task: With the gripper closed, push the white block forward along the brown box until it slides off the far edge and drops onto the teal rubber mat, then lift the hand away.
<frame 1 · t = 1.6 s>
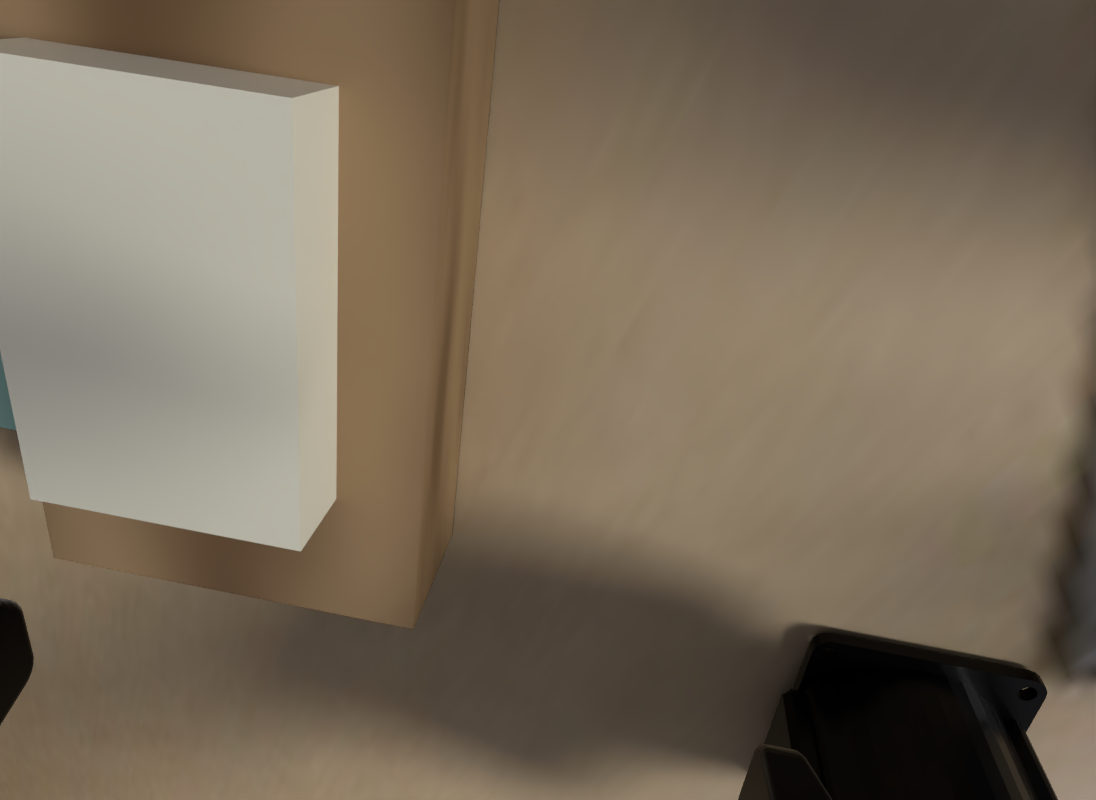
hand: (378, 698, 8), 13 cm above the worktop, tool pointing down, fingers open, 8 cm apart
white block: (197, 293, 17), point 4 cm above the worktop, touching brown box
brown box: (290, 243, 20), on the worktop
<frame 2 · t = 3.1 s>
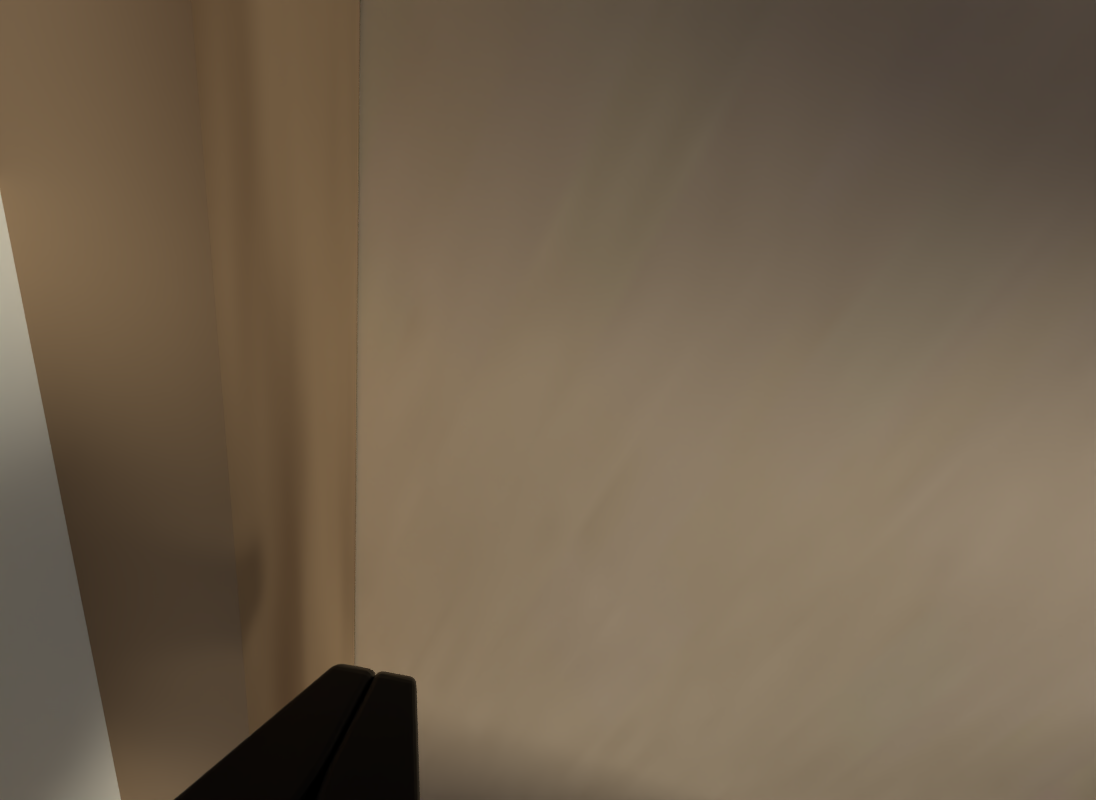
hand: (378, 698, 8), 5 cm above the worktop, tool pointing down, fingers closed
brown box: (73, 378, 13), on the worktop
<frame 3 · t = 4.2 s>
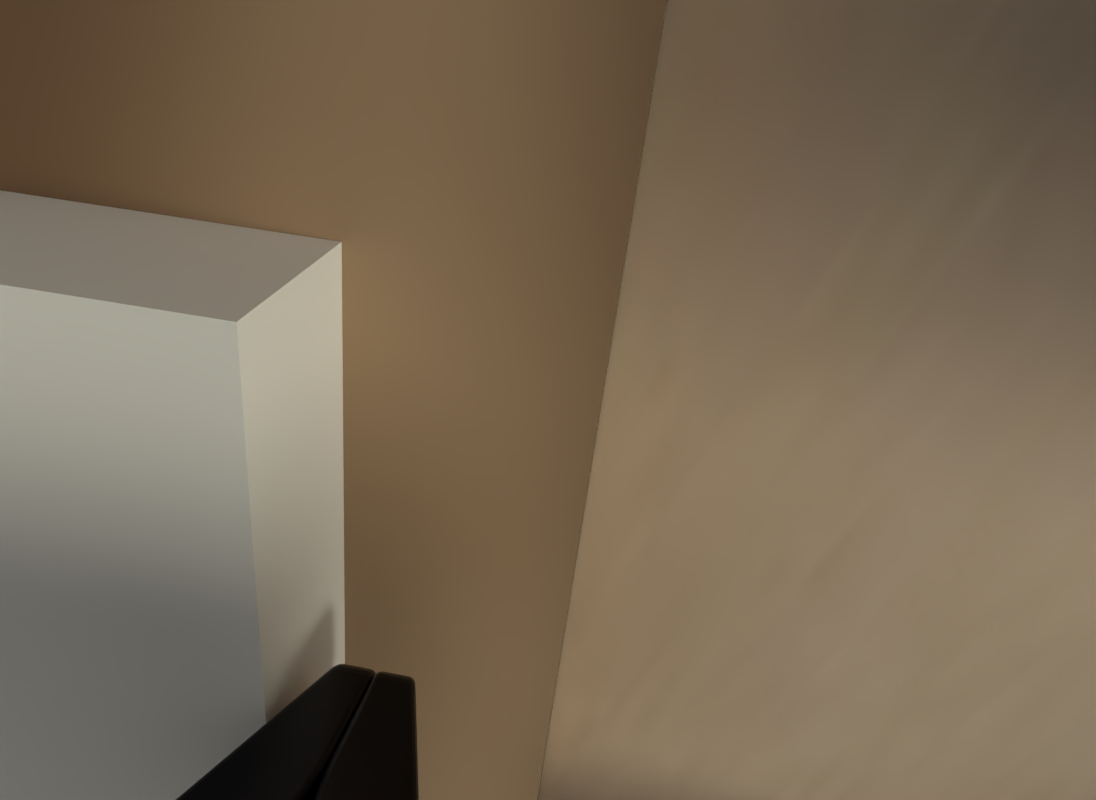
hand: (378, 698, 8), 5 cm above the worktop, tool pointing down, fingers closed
white block: (99, 573, 10), point 4 cm above the worktop, touching gripper
brown box: (299, 423, 13), on the worktop
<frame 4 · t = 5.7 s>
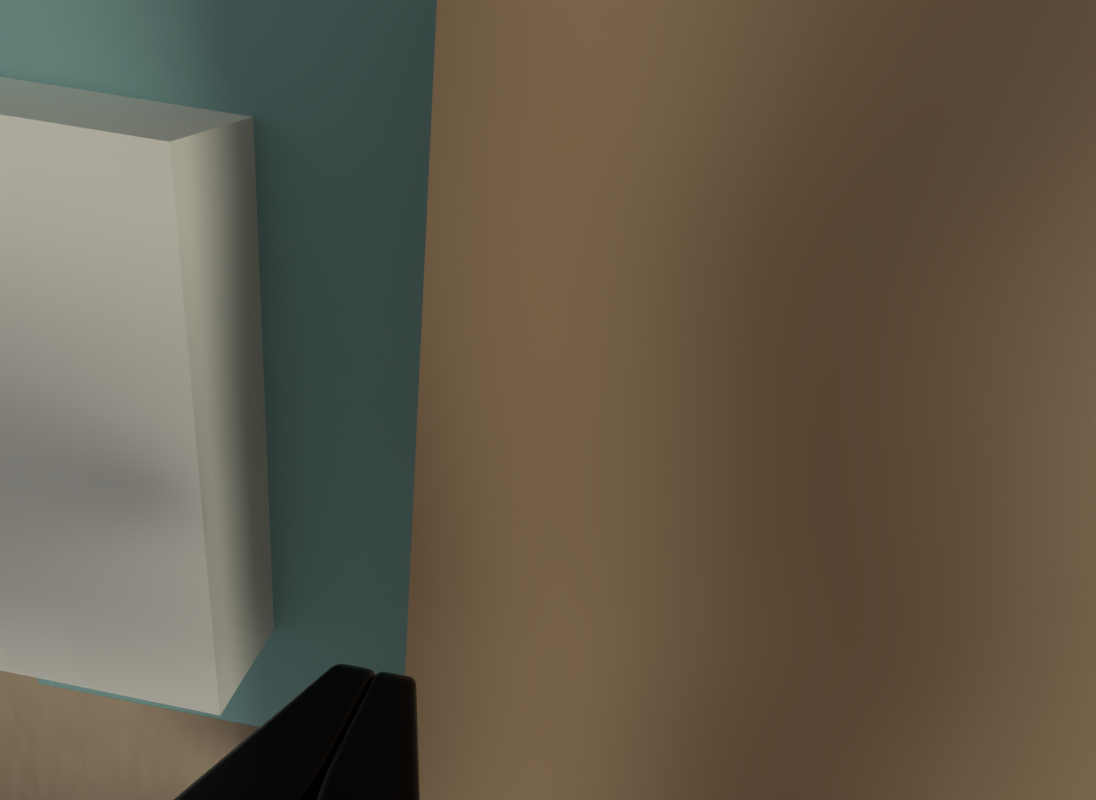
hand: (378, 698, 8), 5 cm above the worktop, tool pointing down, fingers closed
brown box: (780, 504, 12), on the worktop
mat: (238, 411, 13), on the worktop
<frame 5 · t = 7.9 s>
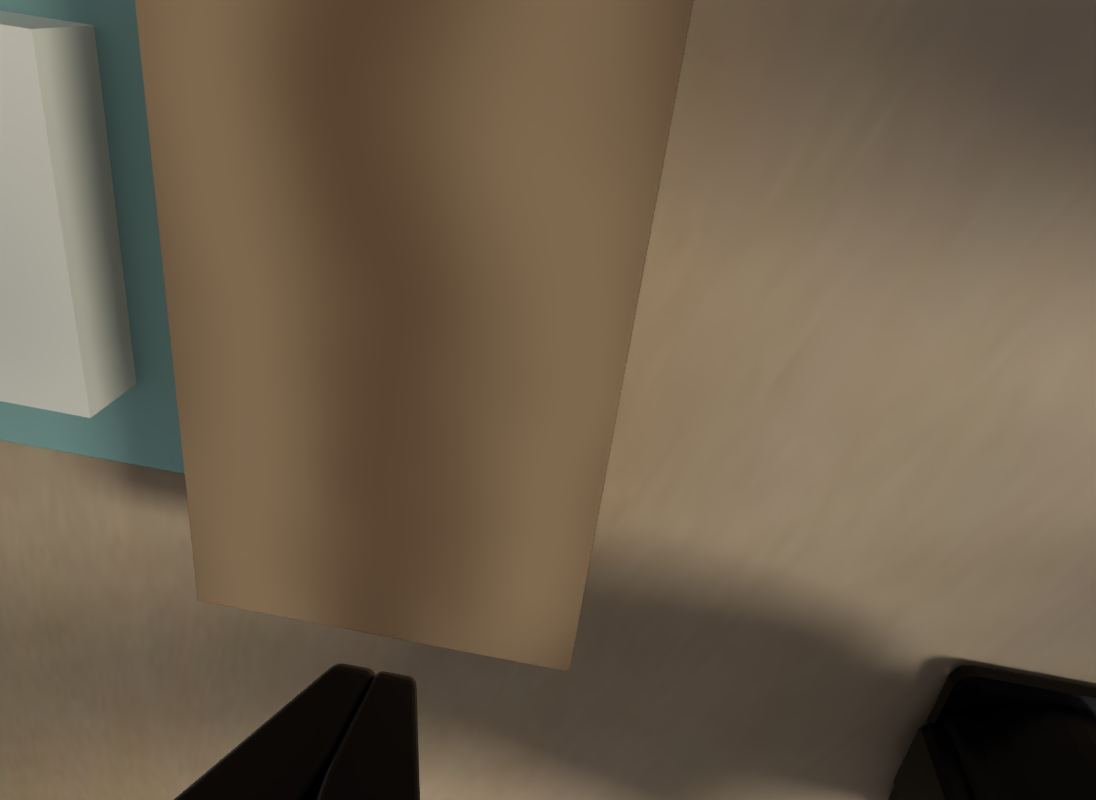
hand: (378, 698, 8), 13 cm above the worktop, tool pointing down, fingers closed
brown box: (440, 279, 20), on the worktop
mat: (102, 224, 20), on the worktop
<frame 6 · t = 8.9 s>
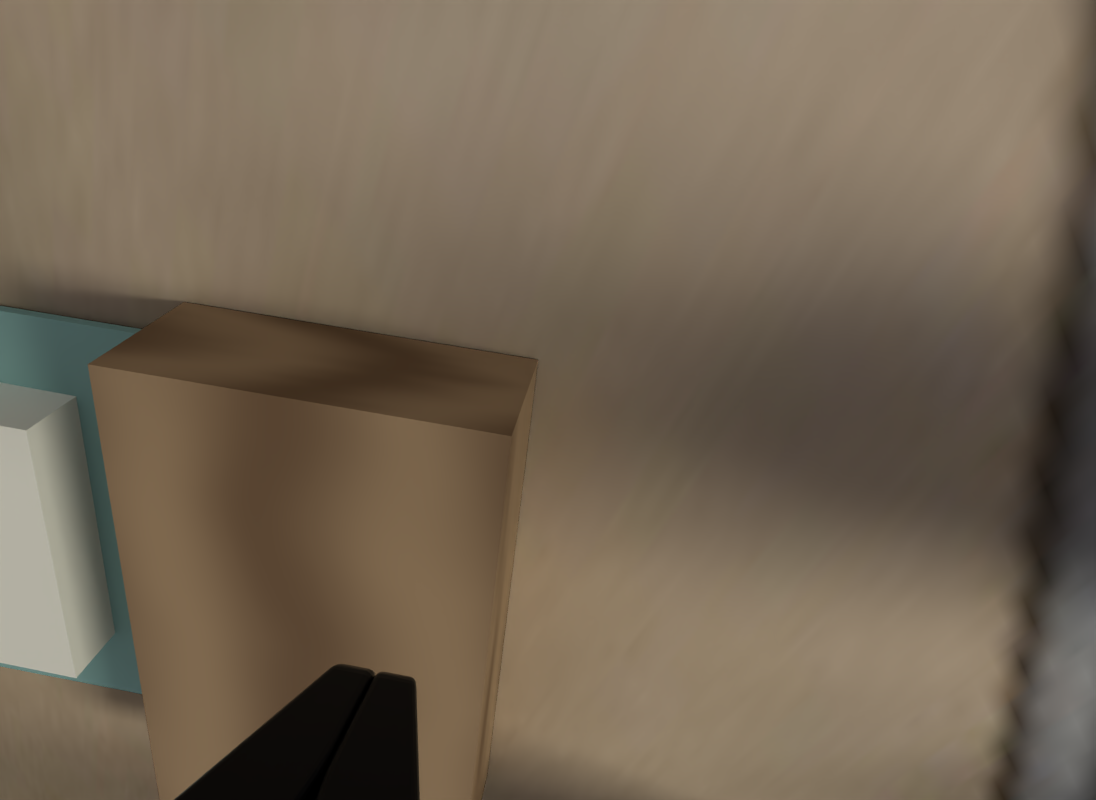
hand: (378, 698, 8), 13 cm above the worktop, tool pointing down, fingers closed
brown box: (356, 570, 25), on the worktop
mat: (85, 521, 25), on the worktop
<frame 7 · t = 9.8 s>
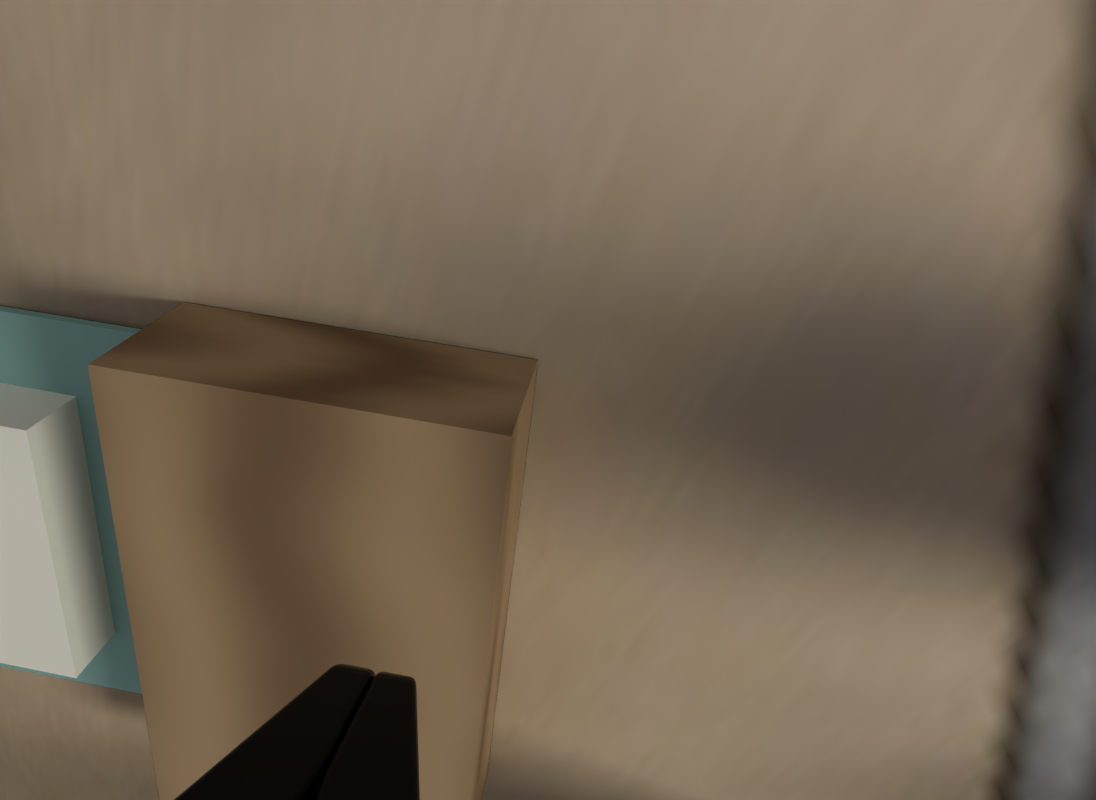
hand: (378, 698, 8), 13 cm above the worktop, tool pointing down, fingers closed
brown box: (356, 570, 25), on the worktop
mat: (85, 521, 25), on the worktop
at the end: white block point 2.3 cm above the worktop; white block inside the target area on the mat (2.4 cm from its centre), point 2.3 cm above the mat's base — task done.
